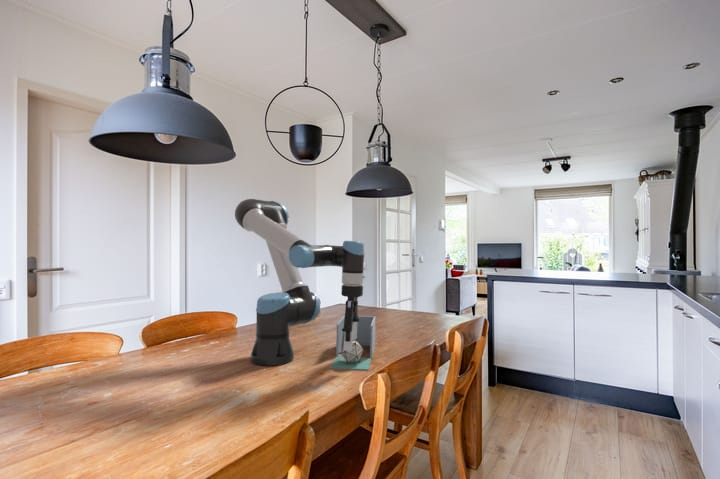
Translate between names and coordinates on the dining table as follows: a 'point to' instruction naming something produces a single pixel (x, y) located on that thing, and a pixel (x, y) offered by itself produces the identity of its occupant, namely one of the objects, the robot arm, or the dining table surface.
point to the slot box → (358, 333)
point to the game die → (352, 352)
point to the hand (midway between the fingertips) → (350, 344)
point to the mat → (351, 364)
